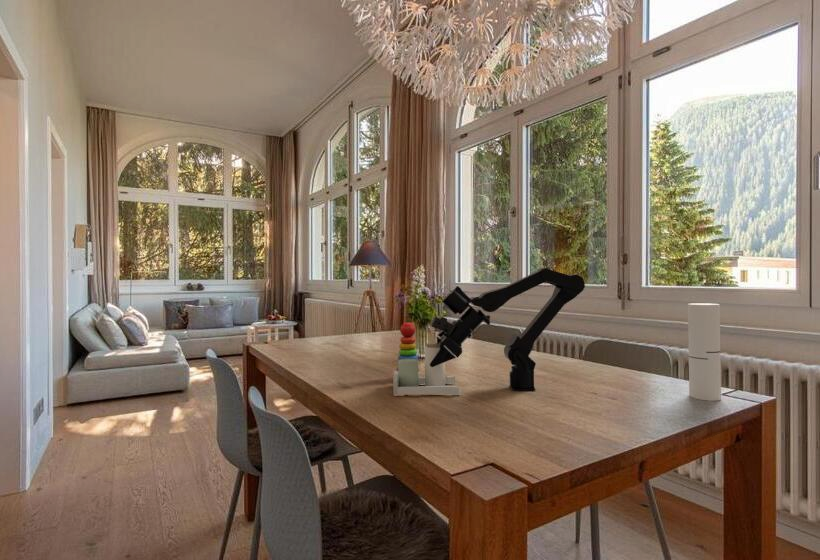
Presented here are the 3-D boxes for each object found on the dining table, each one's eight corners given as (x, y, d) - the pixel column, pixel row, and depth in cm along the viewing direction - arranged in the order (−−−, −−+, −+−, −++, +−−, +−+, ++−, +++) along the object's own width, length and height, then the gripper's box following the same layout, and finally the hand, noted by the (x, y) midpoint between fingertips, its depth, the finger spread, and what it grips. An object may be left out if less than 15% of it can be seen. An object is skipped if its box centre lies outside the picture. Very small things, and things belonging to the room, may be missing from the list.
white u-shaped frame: (455, 383, 141) (454, 369, 141) (460, 396, 125) (460, 380, 125) (394, 384, 140) (394, 370, 140) (393, 397, 125) (393, 381, 125)
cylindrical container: (726, 401, 116) (724, 304, 115) (695, 400, 117) (694, 305, 117) (713, 394, 123) (712, 303, 122) (684, 393, 124) (683, 303, 124)
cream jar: (448, 388, 134) (447, 342, 134) (439, 393, 129) (438, 345, 129) (431, 386, 137) (430, 341, 137) (421, 391, 132) (420, 344, 132)
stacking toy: (420, 381, 144) (418, 323, 144) (395, 381, 144) (394, 324, 144) (420, 376, 152) (419, 321, 152) (396, 376, 152) (395, 321, 152)
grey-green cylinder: (419, 388, 136) (419, 358, 135) (417, 393, 130) (417, 362, 130) (400, 387, 136) (399, 358, 136) (397, 393, 130) (396, 362, 130)
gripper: (443, 304, 142) (409, 339, 142) (449, 308, 124) (410, 349, 124) (468, 328, 142) (435, 364, 142) (478, 336, 124) (439, 377, 124)
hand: (429, 363), depth 133 cm, fingers open, 9 cm apart
